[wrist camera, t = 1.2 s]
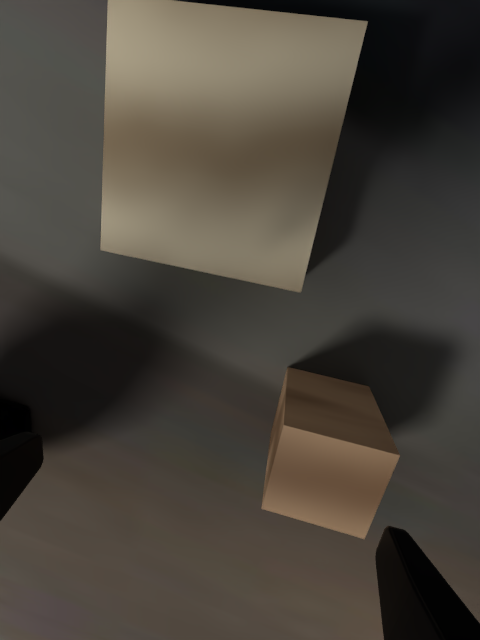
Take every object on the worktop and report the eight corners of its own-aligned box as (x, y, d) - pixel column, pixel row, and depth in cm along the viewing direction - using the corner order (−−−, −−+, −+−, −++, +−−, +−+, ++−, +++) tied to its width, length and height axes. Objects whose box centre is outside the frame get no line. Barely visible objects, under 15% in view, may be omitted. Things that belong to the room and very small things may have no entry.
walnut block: (345, 451, 20) (364, 539, 15) (271, 431, 21) (261, 508, 15) (368, 386, 19) (399, 455, 13) (287, 366, 19) (283, 425, 14)
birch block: (300, 278, 18) (300, 292, 14) (139, 245, 19) (100, 250, 15) (349, 73, 15) (368, 21, 11) (153, 48, 16) (108, -7, 12)
